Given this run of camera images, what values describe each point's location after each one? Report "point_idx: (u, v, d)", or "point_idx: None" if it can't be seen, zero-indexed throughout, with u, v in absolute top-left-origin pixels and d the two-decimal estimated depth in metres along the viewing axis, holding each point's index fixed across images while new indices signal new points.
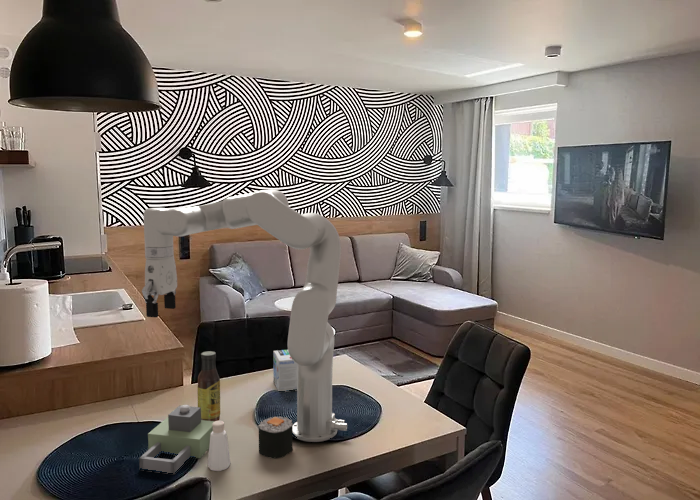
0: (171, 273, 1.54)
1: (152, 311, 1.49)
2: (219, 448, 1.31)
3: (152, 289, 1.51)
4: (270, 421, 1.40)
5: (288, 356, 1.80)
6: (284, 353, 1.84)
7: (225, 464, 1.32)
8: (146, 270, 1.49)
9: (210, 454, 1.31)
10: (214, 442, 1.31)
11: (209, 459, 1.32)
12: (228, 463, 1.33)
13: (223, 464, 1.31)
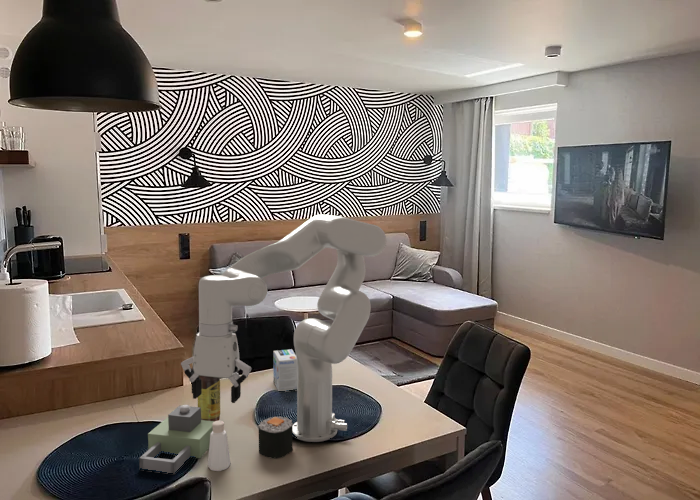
0: None
1: (240, 393, 1.30)
2: (219, 448, 1.31)
3: None
4: (270, 421, 1.40)
5: (288, 356, 1.80)
6: (284, 353, 1.84)
7: (225, 464, 1.32)
8: (232, 349, 1.27)
9: (210, 454, 1.31)
10: (214, 442, 1.31)
11: (209, 459, 1.32)
12: (228, 463, 1.33)
13: (223, 464, 1.31)
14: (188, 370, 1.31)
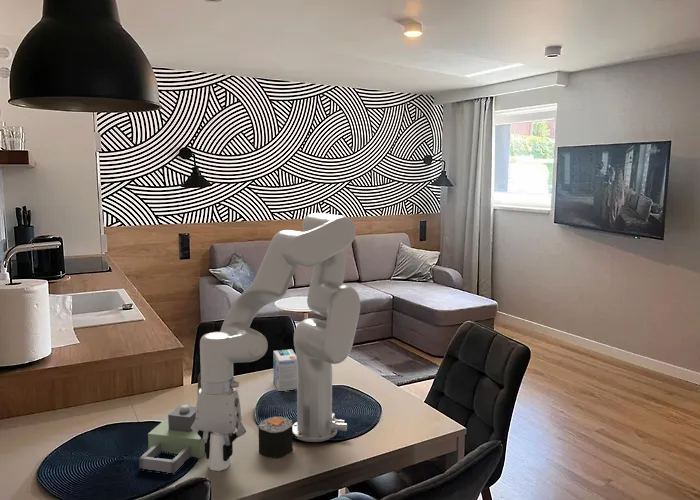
0: None
1: (232, 450, 1.33)
2: (219, 448, 1.31)
3: None
4: (270, 421, 1.40)
5: (288, 356, 1.80)
6: (284, 353, 1.84)
7: (225, 464, 1.32)
8: (233, 406, 1.29)
9: (210, 454, 1.31)
10: (214, 442, 1.31)
11: (209, 459, 1.32)
12: (228, 463, 1.33)
13: (223, 464, 1.31)
14: (201, 431, 1.32)
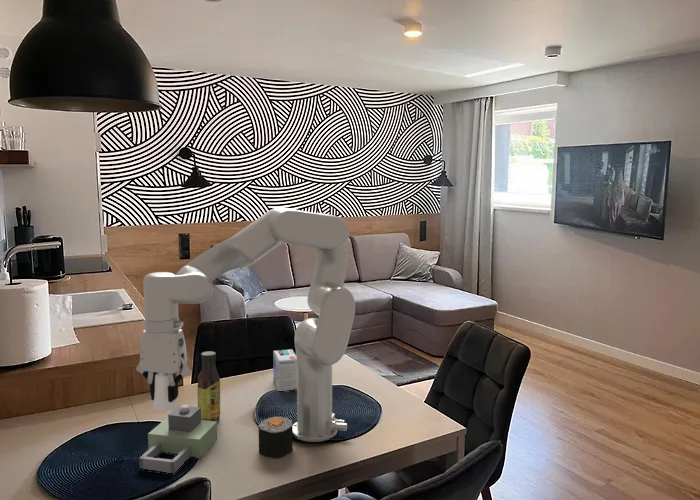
0: None
1: None
2: (163, 389, 1.30)
3: None
4: (270, 421, 1.40)
5: (288, 356, 1.80)
6: (284, 353, 1.84)
7: (170, 405, 1.31)
8: (177, 345, 1.28)
9: (155, 395, 1.30)
10: (159, 382, 1.30)
11: (154, 400, 1.31)
12: (173, 405, 1.32)
13: (168, 405, 1.30)
14: (146, 372, 1.31)
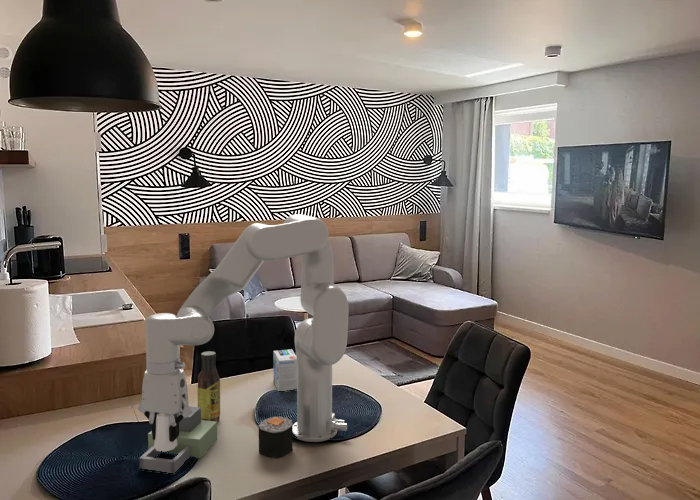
0: None
1: None
2: (165, 429, 1.31)
3: None
4: (270, 421, 1.40)
5: (288, 356, 1.80)
6: (284, 353, 1.84)
7: (171, 445, 1.32)
8: (179, 386, 1.29)
9: (156, 435, 1.32)
10: (160, 422, 1.31)
11: (155, 440, 1.32)
12: (174, 444, 1.33)
13: (169, 445, 1.32)
14: (148, 412, 1.33)
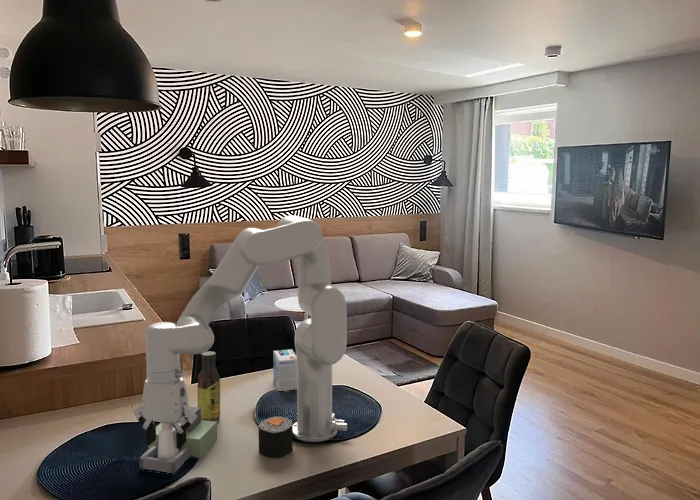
0: None
1: None
2: (167, 445, 1.32)
3: None
4: (270, 421, 1.40)
5: (288, 356, 1.80)
6: (284, 353, 1.84)
7: None
8: (179, 395, 1.30)
9: (159, 451, 1.32)
10: (162, 439, 1.32)
11: (158, 456, 1.33)
12: None
13: None
14: (142, 417, 1.33)
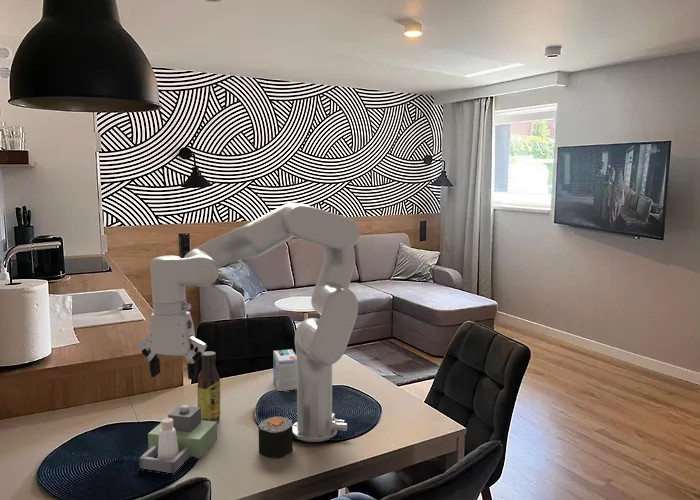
0: None
1: (197, 369, 1.33)
2: (167, 445, 1.32)
3: None
4: (270, 421, 1.40)
5: (288, 356, 1.80)
6: (284, 353, 1.84)
7: None
8: (186, 327, 1.30)
9: (159, 451, 1.32)
10: (162, 439, 1.32)
11: (158, 456, 1.33)
12: None
13: None
14: (145, 349, 1.33)
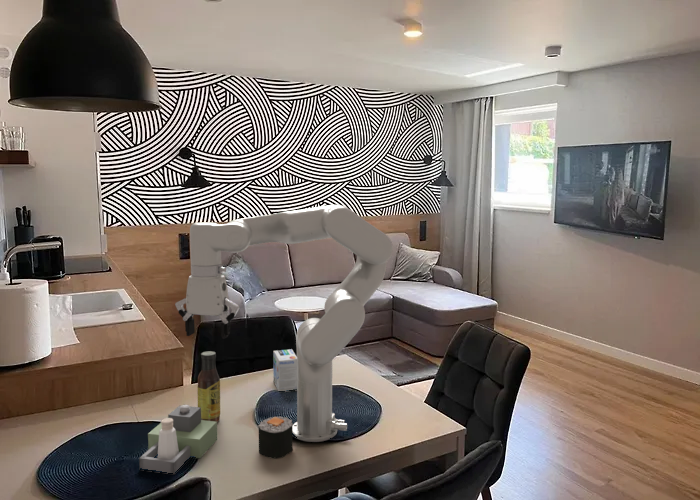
0: None
1: None
2: (167, 445, 1.32)
3: None
4: (270, 421, 1.40)
5: (288, 356, 1.80)
6: (284, 353, 1.84)
7: None
8: (221, 289, 1.39)
9: (159, 451, 1.32)
10: (162, 439, 1.32)
11: (158, 456, 1.33)
12: None
13: None
14: (182, 310, 1.42)
